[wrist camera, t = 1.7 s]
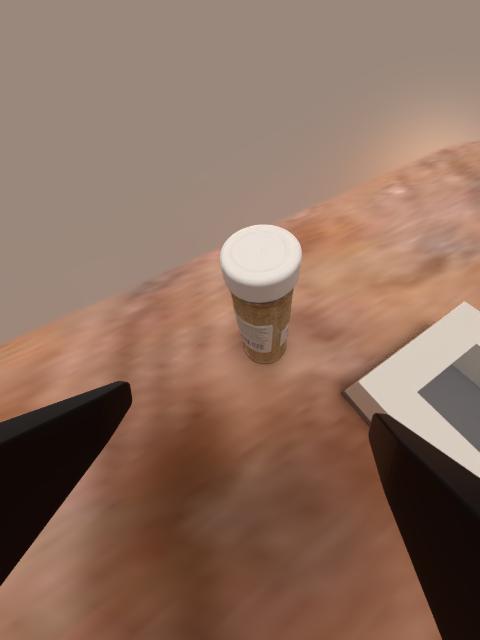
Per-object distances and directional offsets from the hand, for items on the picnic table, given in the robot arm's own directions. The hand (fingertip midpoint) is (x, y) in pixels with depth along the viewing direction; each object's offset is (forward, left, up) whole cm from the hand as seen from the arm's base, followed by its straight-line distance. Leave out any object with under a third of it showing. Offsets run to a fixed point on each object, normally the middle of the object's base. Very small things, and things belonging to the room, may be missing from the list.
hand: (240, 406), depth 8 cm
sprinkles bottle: (+6, -5, -14) cm, 16 cm away
